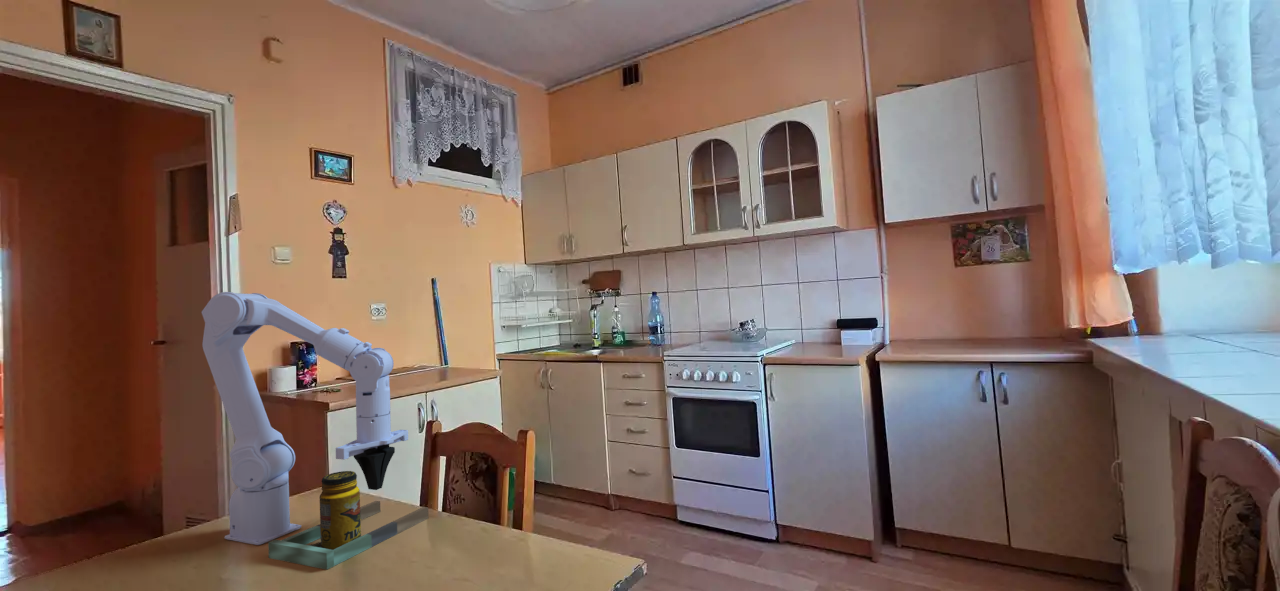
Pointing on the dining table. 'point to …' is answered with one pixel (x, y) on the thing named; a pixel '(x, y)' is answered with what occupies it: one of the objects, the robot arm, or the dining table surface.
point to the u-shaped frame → (324, 558)
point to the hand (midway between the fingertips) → (375, 488)
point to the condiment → (339, 510)
